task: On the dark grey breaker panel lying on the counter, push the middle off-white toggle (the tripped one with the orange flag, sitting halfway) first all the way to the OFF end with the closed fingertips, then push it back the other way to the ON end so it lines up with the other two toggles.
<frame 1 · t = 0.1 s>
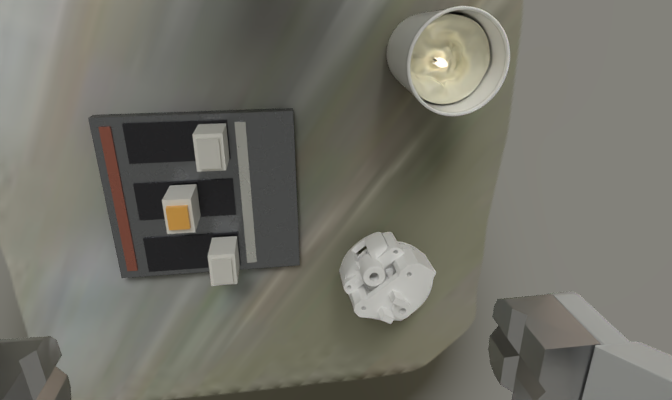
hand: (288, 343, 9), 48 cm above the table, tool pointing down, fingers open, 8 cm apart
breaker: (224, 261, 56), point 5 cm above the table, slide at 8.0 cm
panel: (205, 193, 58), on the table
breaker mid: (181, 209, 53), point 5 cm above the table, slide at 4.0 cm
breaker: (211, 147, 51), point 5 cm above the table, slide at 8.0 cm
mechanical part: (380, 259, 65), on the table
candle holder: (420, 51, 55), on the table
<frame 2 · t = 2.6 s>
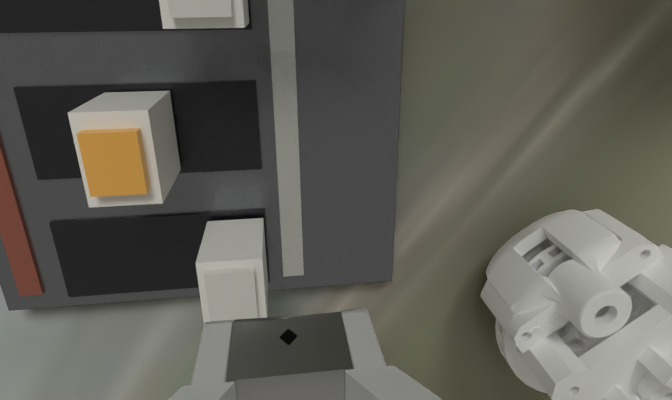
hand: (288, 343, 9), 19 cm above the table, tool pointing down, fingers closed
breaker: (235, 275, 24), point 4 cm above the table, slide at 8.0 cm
panel: (191, 121, 26), on the table
breaker mid: (130, 146, 21), point 5 cm above the table, slide at 4.0 cm
mechanical part: (542, 267, 33), on the table
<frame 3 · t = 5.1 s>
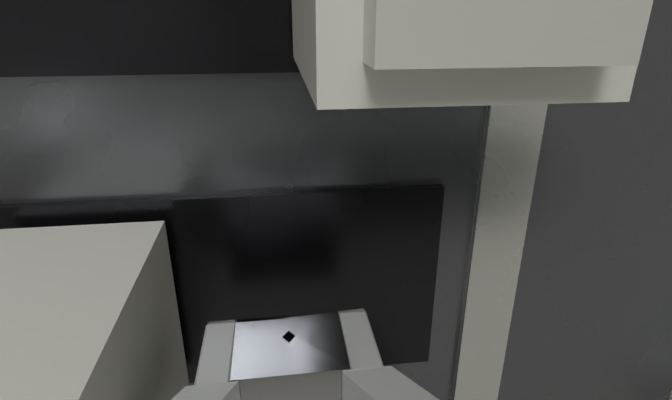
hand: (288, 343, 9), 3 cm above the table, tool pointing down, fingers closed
panel: (276, 255, 12), on the table
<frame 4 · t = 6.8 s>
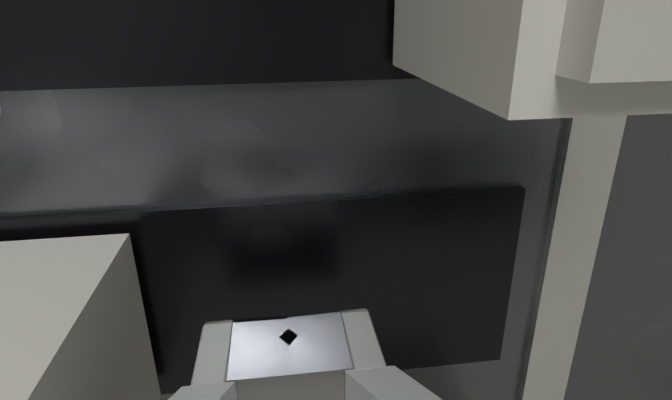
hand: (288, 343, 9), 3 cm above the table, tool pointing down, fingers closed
panel: (348, 257, 12), on the table
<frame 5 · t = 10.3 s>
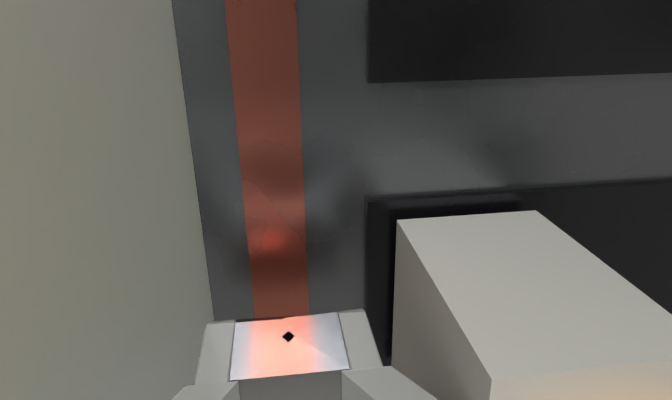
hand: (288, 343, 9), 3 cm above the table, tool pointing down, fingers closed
panel: (627, 238, 13), on the table
breaker mid: (513, 379, 8), point 5 cm above the table, slide at 0.5 cm, touching gripper
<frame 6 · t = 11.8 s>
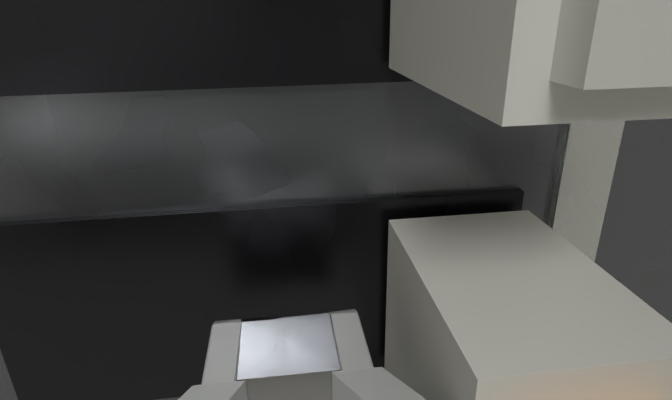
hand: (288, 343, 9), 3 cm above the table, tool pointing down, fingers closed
panel: (346, 260, 12), on the table
breaker mid: (504, 379, 8), point 5 cm above the table, slide at 8.1 cm, touching gripper
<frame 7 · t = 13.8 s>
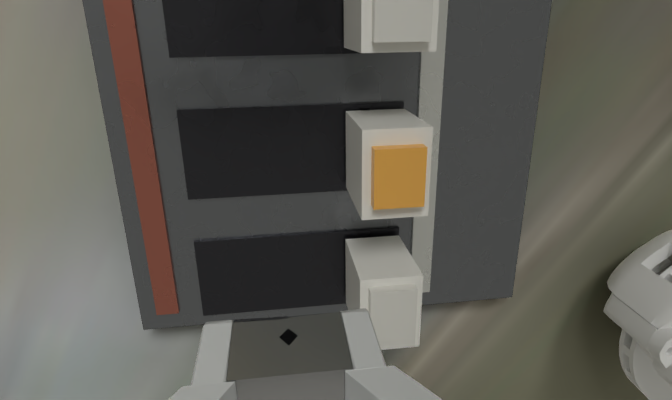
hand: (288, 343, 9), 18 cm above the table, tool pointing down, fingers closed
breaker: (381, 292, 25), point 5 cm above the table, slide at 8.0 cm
panel: (330, 141, 26), on the table
breaker mid: (386, 162, 22), point 5 cm above the table, slide at 8.1 cm
mechanical part: (649, 282, 33), on the table
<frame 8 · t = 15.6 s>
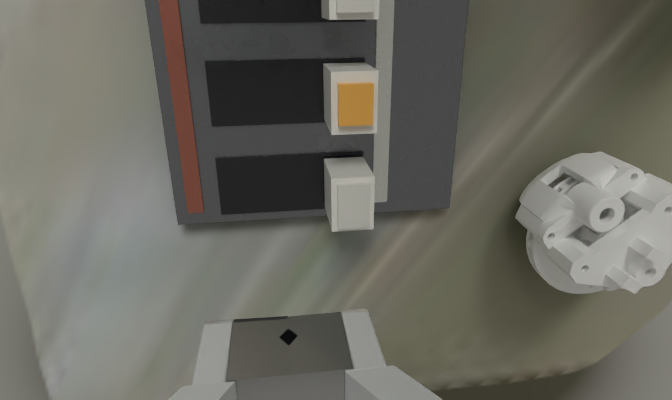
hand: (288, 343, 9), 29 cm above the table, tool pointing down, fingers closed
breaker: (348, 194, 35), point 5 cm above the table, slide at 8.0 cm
panel: (313, 87, 36), on the table
breaker mid: (349, 97, 32), point 5 cm above the table, slide at 8.1 cm
mechanical part: (559, 203, 43), on the table
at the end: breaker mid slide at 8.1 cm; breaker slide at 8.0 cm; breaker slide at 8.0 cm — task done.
